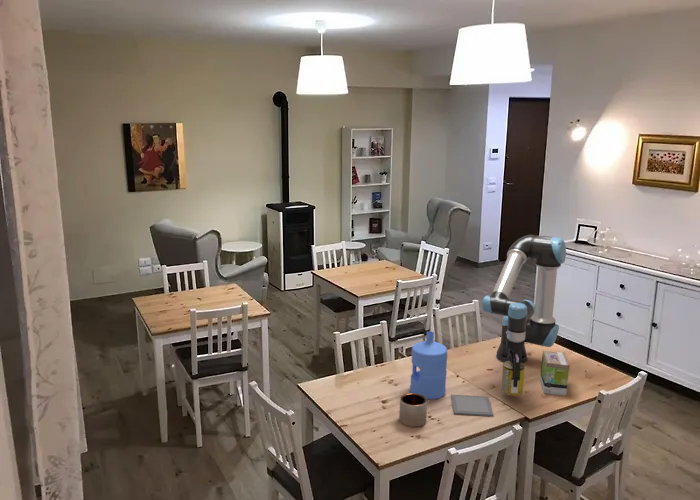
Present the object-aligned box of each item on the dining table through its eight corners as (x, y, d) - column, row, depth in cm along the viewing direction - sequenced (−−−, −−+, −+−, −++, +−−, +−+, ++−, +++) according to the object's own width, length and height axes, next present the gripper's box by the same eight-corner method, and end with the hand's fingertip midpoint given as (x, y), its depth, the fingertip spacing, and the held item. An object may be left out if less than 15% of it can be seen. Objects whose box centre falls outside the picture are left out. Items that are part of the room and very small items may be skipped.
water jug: (448, 387, 262) (451, 328, 256) (441, 402, 248) (445, 341, 241) (414, 381, 267) (416, 324, 261) (406, 396, 253) (408, 336, 246)
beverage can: (508, 383, 258) (510, 358, 255) (526, 390, 252) (528, 365, 249) (497, 390, 252) (499, 365, 249) (515, 397, 246) (517, 371, 243)
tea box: (567, 396, 255) (570, 365, 252) (543, 393, 257) (546, 362, 254) (561, 381, 269) (564, 351, 266) (539, 379, 271) (542, 349, 268)
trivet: (450, 396, 254) (450, 394, 253) (487, 398, 252) (488, 396, 252) (453, 414, 238) (454, 412, 238) (493, 416, 237) (493, 414, 237)
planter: (397, 414, 238) (397, 393, 235) (423, 413, 239) (424, 392, 236) (401, 428, 227) (402, 406, 225) (428, 427, 228) (429, 405, 226)
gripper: (502, 329, 257) (499, 375, 263) (511, 349, 236) (507, 399, 242) (519, 329, 256) (516, 376, 262) (530, 350, 235) (526, 400, 241)
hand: (512, 387), depth 252 cm, fingers closed on beverage can, 9 cm apart
